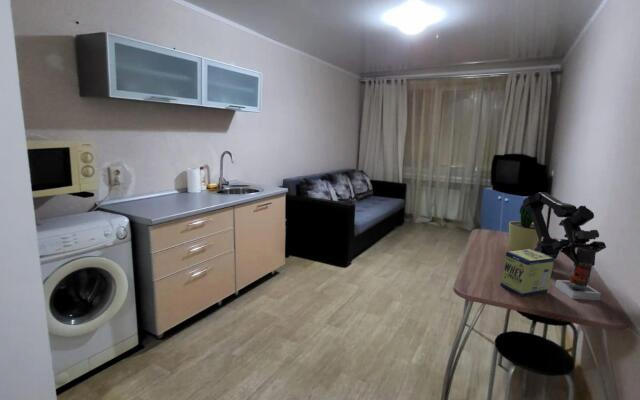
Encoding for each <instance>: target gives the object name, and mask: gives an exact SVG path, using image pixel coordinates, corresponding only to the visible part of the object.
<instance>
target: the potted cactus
mask: <svg viewBox="0 0 640 400" xmlns="http://www.w3.org/2000/svg"><path fill="white" fill-rule="evenodd" d="M518 209H519V210H518V211H519V212H518V213H519V216H520V220H519V221H514V220H513V221H509V222H508V249H509V251H519V250H527V249H533V250H534V249H535V246H536V244H537V240H538V236H537V233H536V230H535V226H534V223H533V220H532V217H531V214H529V213H528V212H527V211H526V210H525V208H524V205H523V204H521V206H520V207H519V208H518Z"/></svg>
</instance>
